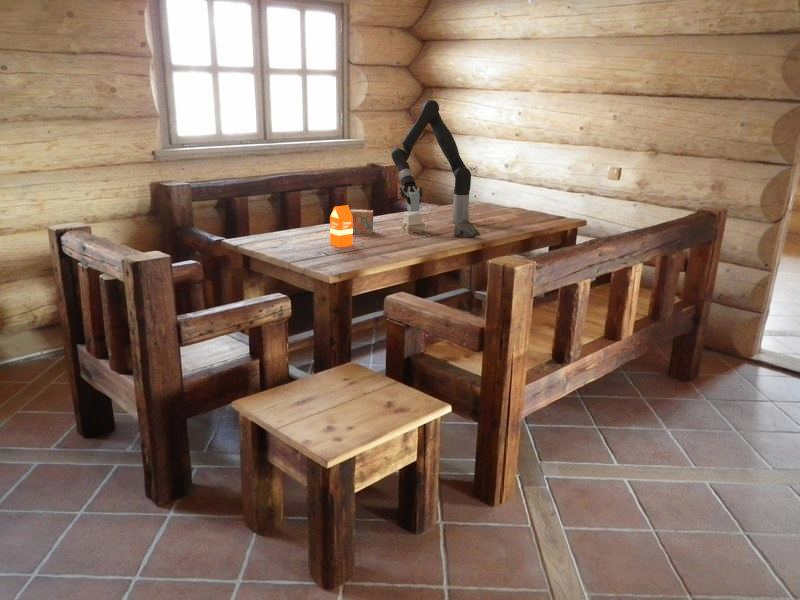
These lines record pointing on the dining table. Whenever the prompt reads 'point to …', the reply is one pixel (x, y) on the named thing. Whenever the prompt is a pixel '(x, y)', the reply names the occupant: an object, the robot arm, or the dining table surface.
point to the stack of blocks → (362, 221)
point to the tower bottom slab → (412, 227)
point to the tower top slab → (412, 218)
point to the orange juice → (341, 227)
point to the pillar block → (414, 201)
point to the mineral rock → (465, 229)
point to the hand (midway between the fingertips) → (414, 203)
